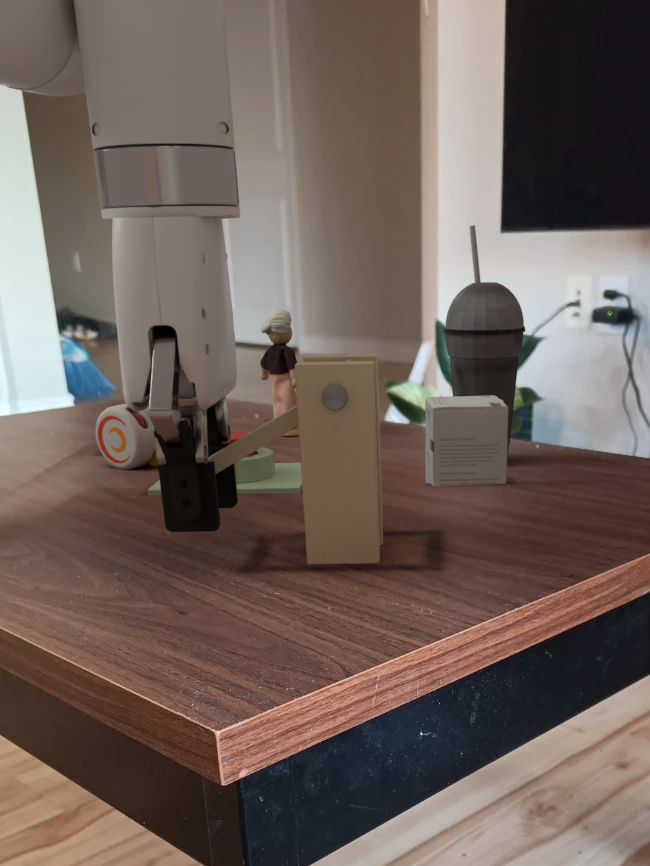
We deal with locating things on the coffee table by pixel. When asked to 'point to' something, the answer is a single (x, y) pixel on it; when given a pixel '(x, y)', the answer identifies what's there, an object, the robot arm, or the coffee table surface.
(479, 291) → the beverage cup
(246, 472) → the button block
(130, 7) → the robot arm
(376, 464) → the lever bracket
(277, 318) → the grandmother figurine
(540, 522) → the coffee table surface
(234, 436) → the button
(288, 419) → the lever
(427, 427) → the product carton
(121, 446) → the roller toy
